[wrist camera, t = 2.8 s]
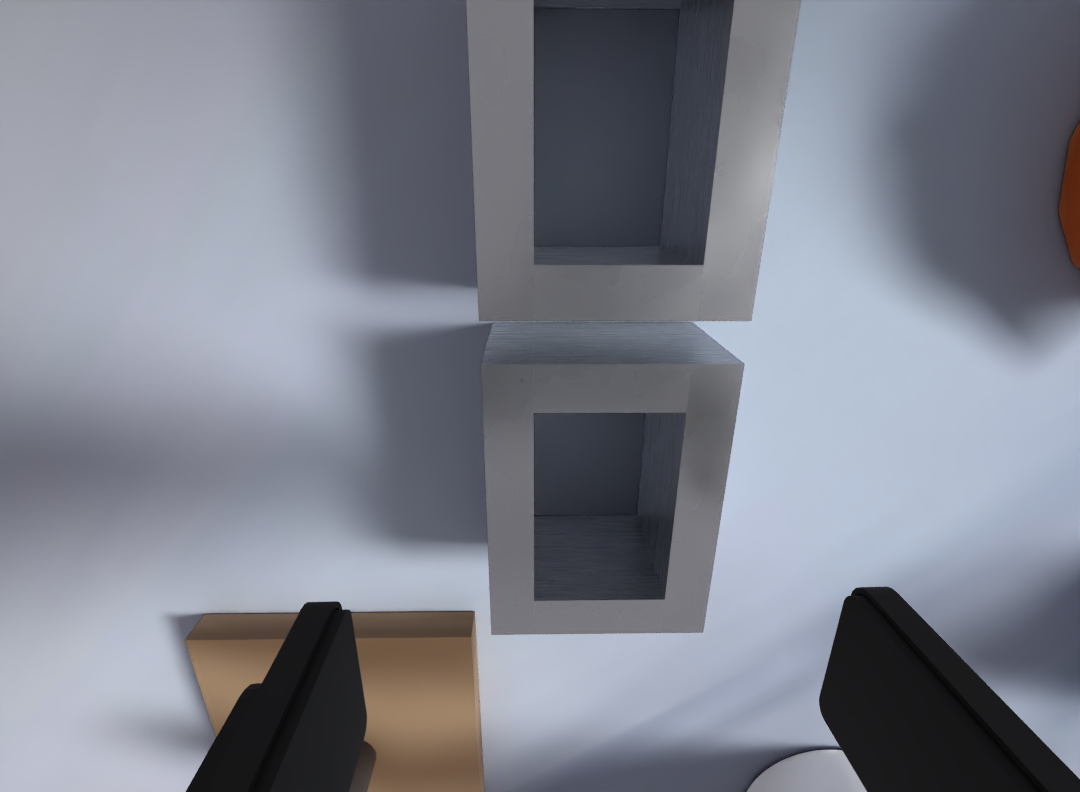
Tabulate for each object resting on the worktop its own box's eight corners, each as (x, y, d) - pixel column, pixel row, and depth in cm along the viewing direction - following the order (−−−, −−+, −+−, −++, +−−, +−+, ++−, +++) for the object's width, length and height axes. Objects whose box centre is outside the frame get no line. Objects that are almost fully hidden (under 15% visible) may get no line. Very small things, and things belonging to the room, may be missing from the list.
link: (492, 322, 15) (480, 364, 12) (693, 322, 16) (744, 363, 12) (499, 544, 18) (491, 634, 15) (668, 543, 18) (702, 632, 15)
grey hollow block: (481, -55, 12) (459, -163, 8) (736, -52, 12) (824, -157, 9) (491, 289, 15) (478, 321, 11) (697, 289, 15) (751, 320, 11)
